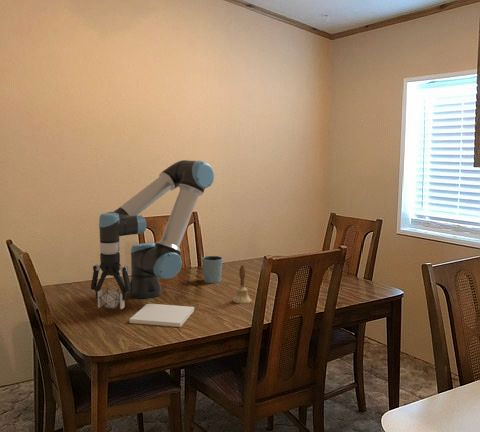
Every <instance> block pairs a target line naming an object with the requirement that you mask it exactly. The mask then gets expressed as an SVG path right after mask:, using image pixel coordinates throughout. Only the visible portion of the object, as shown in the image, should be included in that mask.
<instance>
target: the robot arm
mask: <svg viewBox="0 0 480 432" xmlns="http://www.w3.org/2000/svg"><path fill="white" fill-rule="evenodd" d="M214 179H215V173H214V171H213V167H212V165H210V164H209V162H206V161H202V160H189V159H187V160H186V159H182V160H179V161H176V162H174V163H173V164H171V165H169V167H167V168H166V169H163V170H162V171H161V172H160V173H159V175H158V177H157V178H156V179H155V180H153V181H152V182H151V183H149V184H148V185H146V186H145V187H144V188H142V190H140V191H139V192H137V194H135V195H133V196H132V197H131V198H130V199H129V200H127V201H126V202H125V203H123V204H121V206H120V207H118V208H117V209H115V210H114V211H108V212H105V213H104V212H103V213H101V214H100V215H99V221H98V229H99V252H100V254H99V257H100V261H99V262H100V264H95V265H93V266H92V270H93V274H92V279H91V285H90V290H91V291H93V290H94V291H95V299H96V300H97V308H101V307H103V306H104V304H103V302H102V300H101V298H99V297H102V295H103V289H102V286H103V284H104V282H105V280H106V277H107V276H110V277H113V278H114V279H115V281H116V284H117V285H118V287H119V290H120V293H119V295H120V303H119V309H120V310H123V309H124V308H125V306H126V305H125V301H126V300H127V298H128V297H131V298H137V299H151V298H156V297H159V296H161V295H162V286H161V283H160V280H159V279H168V280H169V279H172V278H174V277H175V276H177V275H178V274H179V273H180V271H181V268H182V266H183V263H182V262H183V261H182V258H181V253H182V251H181V248H180V247H181V243H182V242H183V238H184V235H185V232H186V230H187V227H188V225H189V222H190V220H191V217H192V214H193V211H194V210H195V206H196V204H197V201H198V198H199V197H200V196H203V194H204V193H205V190H206V189H207V188H209V187H211V186H212V185H213V183H214ZM177 188H179V192H178V194H177V197H176V200H175V203H174V204H173V207H172V210H171V213H170V214H169V215H170V216H169V218H168V220H167V223H166V225H165V228H164V231H163V233H162V236H161V237H160V240H158V241H156V242H148V243H144V242H143V243H137V244H134V245H133V244H132V246H131V249H130V259H131V260H130V265H131V266H130V267H131V268H130V269H131V270H130V271H131V273H130V277H131V278H129V273H128V269H129V267H128V266H126V265H125V266H123V265H121V263H120V261H121V257H120V256H121V254H120V250H121V249H120V237H123V236H131V235H132V236H133V235H140V234H143V233H145V231H146V230H147V221H146V218H145V217H144V216H143V215H140V214H141V213H142V212H143V211H145V210H146V209H147V208H148V207H150V206H151V205H152V204H153V203H155V202H156V201H157V200H159V199H161V198H162V197H163V196H164V195H165V194H166V193H169V191H174V190H175V189H177ZM100 270H101V271H102V272H101V274H100V278H99V273H100ZM120 272H121V273H122V276H121V273H120ZM98 279H99V280H98ZM127 296H128V297H127Z"/></svg>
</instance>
